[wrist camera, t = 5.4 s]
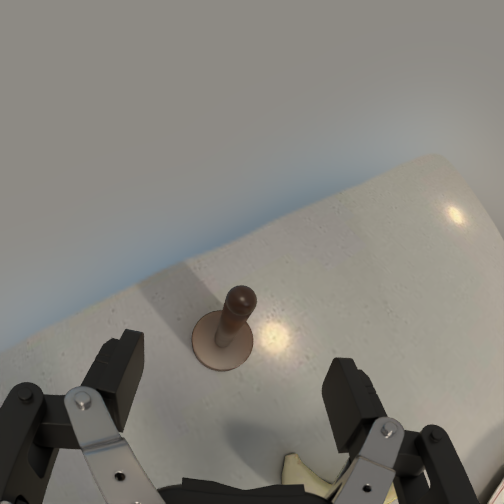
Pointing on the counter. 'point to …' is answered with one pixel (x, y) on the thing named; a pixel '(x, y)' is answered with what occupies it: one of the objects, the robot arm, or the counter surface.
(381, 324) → the counter surface
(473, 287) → the counter surface
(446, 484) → the robot arm
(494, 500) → the dinner plate
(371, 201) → the counter surface
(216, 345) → the wooden pestle
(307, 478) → the fruit
